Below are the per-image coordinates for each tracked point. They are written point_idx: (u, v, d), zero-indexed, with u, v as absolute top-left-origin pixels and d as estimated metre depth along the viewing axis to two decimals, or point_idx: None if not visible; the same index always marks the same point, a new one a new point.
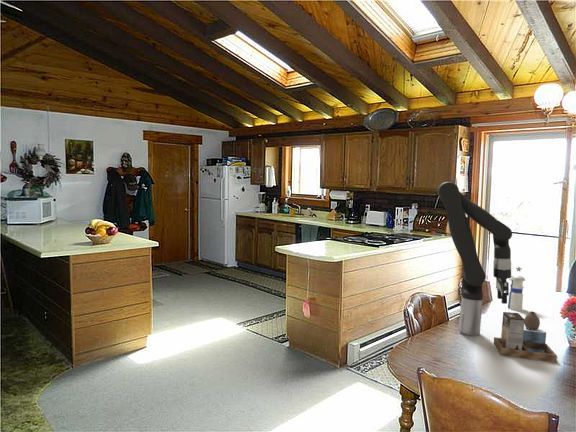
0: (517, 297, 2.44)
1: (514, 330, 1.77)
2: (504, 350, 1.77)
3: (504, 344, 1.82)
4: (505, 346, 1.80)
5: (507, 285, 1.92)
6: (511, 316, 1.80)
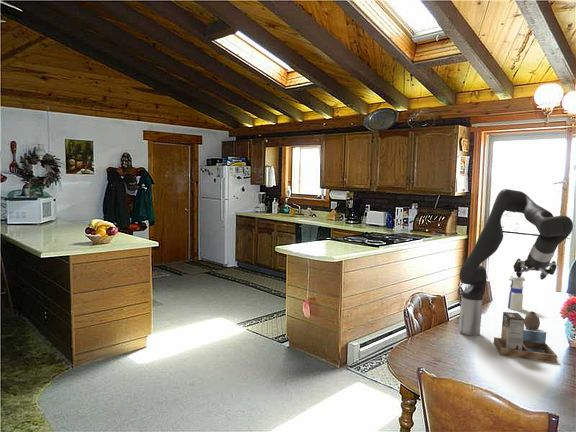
0: (517, 297, 2.44)
1: (514, 330, 1.77)
2: (504, 350, 1.77)
3: (504, 344, 1.82)
4: (505, 346, 1.80)
5: (517, 264, 1.68)
6: (511, 316, 1.80)
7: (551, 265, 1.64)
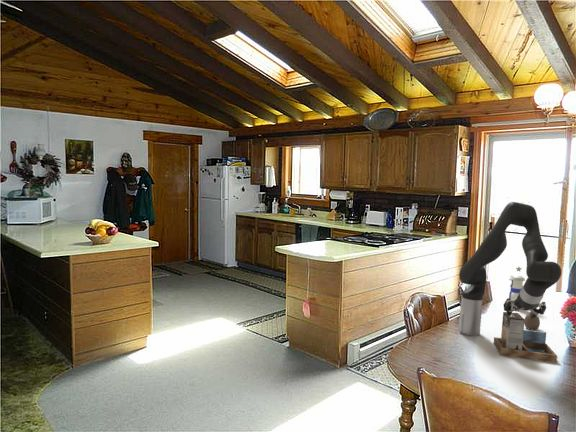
0: None
1: (514, 330, 1.77)
2: (504, 350, 1.77)
3: (504, 344, 1.82)
4: (505, 346, 1.80)
5: (506, 304, 1.67)
6: (511, 316, 1.80)
7: (541, 306, 1.63)
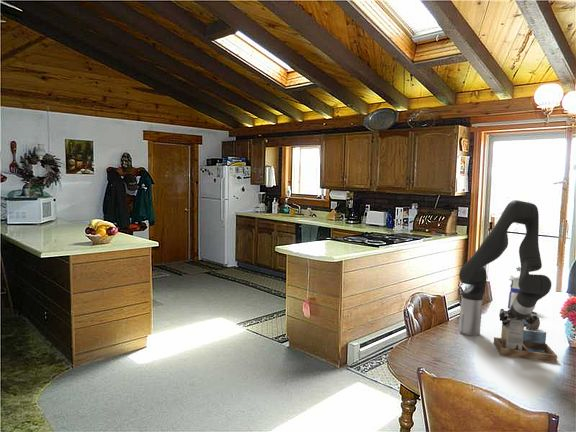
0: None
1: (514, 330, 1.77)
2: (504, 350, 1.77)
3: (504, 344, 1.82)
4: (505, 346, 1.80)
5: (500, 314, 1.76)
6: None
7: (532, 316, 1.72)
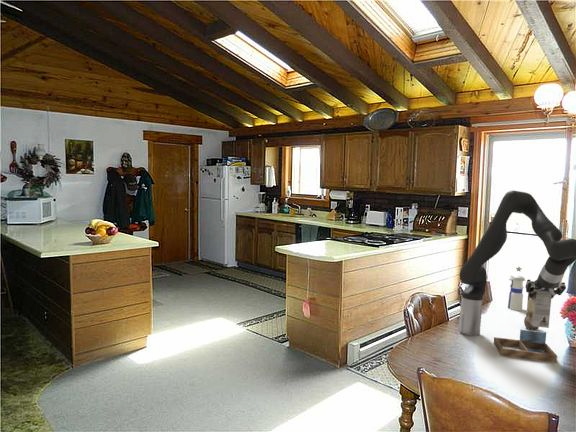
0: (517, 297, 2.44)
1: (541, 302, 1.74)
2: (504, 350, 1.77)
3: (530, 317, 1.78)
4: (532, 318, 1.76)
5: (527, 285, 1.72)
6: None
7: (561, 286, 1.69)
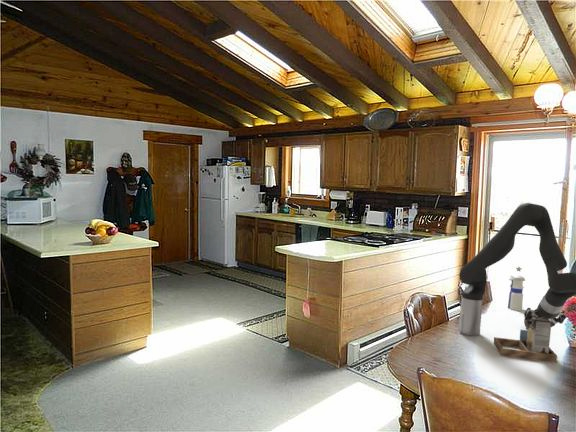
0: (517, 297, 2.44)
1: (540, 333, 1.75)
2: (504, 350, 1.77)
3: (530, 347, 1.79)
4: (531, 349, 1.77)
5: (527, 313, 1.73)
6: None
7: (560, 315, 1.70)
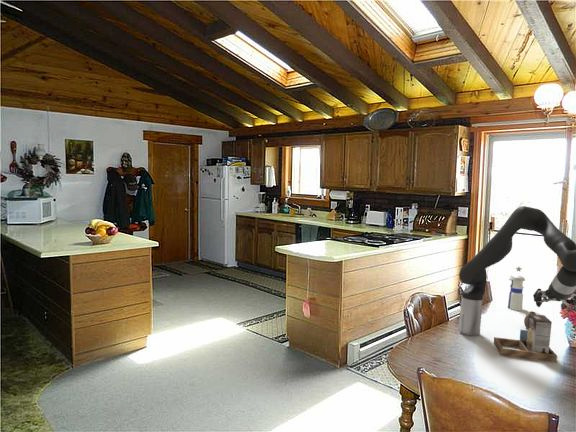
0: (517, 297, 2.44)
1: (540, 333, 1.75)
2: (504, 350, 1.77)
3: (530, 347, 1.79)
4: (531, 349, 1.77)
5: (537, 294, 1.62)
6: (538, 318, 1.77)
7: (573, 296, 1.58)
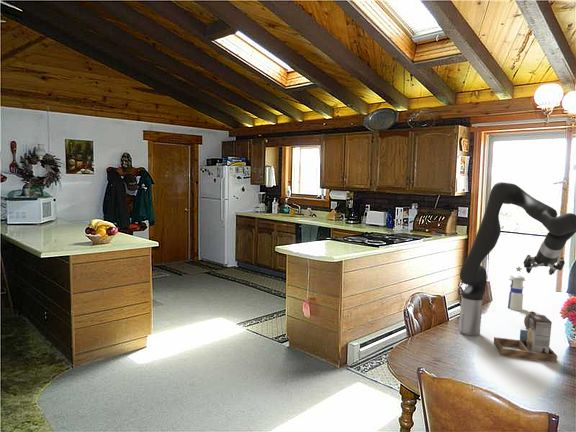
0: (517, 297, 2.44)
1: (540, 333, 1.75)
2: (504, 350, 1.77)
3: (530, 347, 1.79)
4: (531, 349, 1.77)
5: (527, 260, 1.77)
6: (538, 318, 1.77)
7: (559, 261, 1.74)
